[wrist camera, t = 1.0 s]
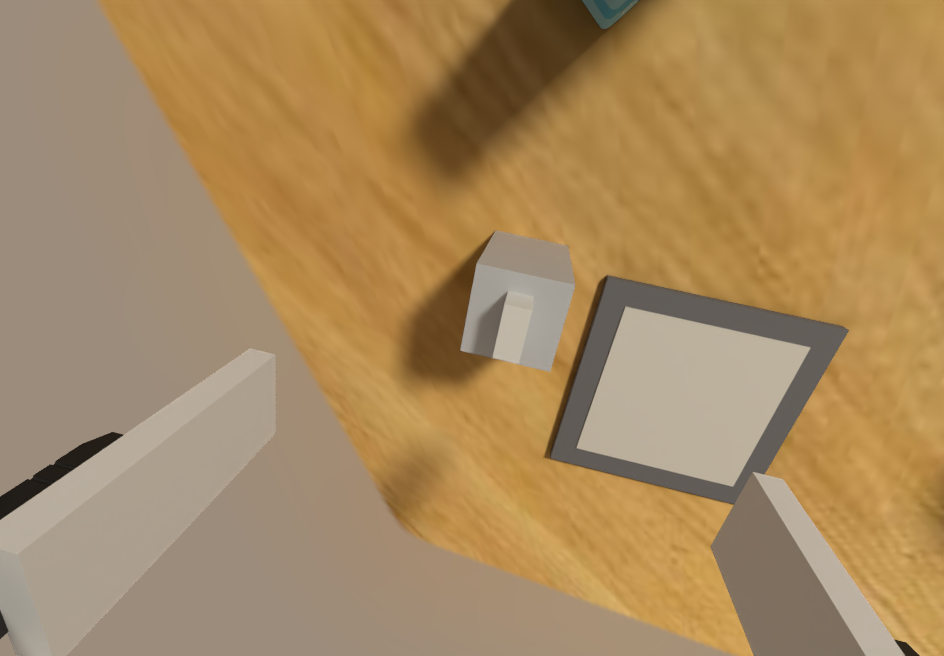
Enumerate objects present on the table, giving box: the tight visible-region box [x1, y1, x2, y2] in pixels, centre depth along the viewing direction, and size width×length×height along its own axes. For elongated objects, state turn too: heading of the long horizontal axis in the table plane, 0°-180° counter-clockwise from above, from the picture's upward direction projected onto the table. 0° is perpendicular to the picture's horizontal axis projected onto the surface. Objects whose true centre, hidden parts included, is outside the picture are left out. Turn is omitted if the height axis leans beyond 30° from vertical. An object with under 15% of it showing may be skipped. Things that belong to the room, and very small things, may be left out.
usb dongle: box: [460, 231, 575, 372], centre depth 24 cm, size 4×4×10 cm
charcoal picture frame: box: [550, 275, 849, 504], centre depth 29 cm, size 14×14×1 cm
